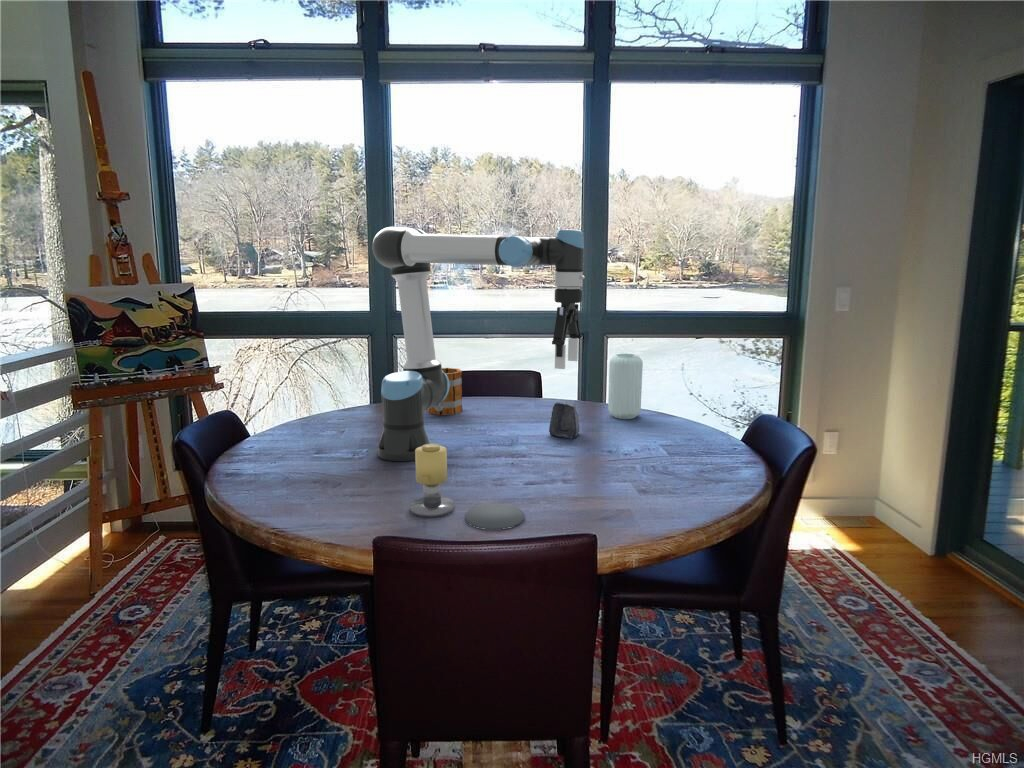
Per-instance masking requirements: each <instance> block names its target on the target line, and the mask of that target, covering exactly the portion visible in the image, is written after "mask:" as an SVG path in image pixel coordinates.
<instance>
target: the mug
mask: <svg viewBox="0 0 1024 768" xmlns="http://www.w3.org/2000/svg"><path fill="white" fill-rule="evenodd" d="M442 370H443V372H444V373H445V374H446V375H447V377H448V379H449V384H450V387H449V392H448V395H447V396H446V398H445V399H444V400H443V401H442V402H441V403H440V404H438V405H437V406H435V407H432V408H429V409H427V410H426V411H427V413H428V414H431V415H439V416H448V415H449V416H450V415H456V414H459V413H461V411H462V412H463V409H464V408H463V386H462V385H463V384H462V383H463V381H462V378H463V377H462V375H463V370H461V369H460V368H453V367H442Z"/></svg>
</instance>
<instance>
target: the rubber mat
mask: <svg viewBox="0 0 1024 768" xmlns="http://www.w3.org/2000/svg"><path fill="white" fill-rule="evenodd" d="M464 520H465V522H466V521H467V522H468V523H469V524H471V525H472V527H473V526H475V527H474V528H476V527H479V528H485V529H503V528H508V527H512V528H514V527H513V526H515V525H517V526H519V525H521V524H522V523H523V522H524V520H525V512H524V511H523V510H522V508H519V507H518V506H515V505H512V504H508V503H499V502H497V503H494V502H493V503H492V502H491V503H482V504H478V505H476V506H472V507H471V508H468V510H467V511H466V512H465V514H464ZM522 521H523V522H522ZM467 522H466V523H467ZM521 522H522V523H521ZM468 523H467V524H468ZM520 523H521V524H520ZM469 524H468V525H469ZM518 524H519V525H518ZM471 525H470V526H471ZM515 527H516V526H515ZM479 528H478V529H479ZM485 529H484V530H485ZM503 530H504V529H503Z"/></svg>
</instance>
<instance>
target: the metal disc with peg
mask: <svg viewBox="0 0 1024 768" xmlns="http://www.w3.org/2000/svg"><path fill="white" fill-rule="evenodd" d="M441 484H442V483H441ZM441 484H435V485H425V484H422V496H423V497H420V498H418V499H415V500H413V501H412V502H411V503H410V504H409V511H410V514H412V515H413V516H414V517H417V518H421V517H422V518H421V519H437V518H438V517H439V518H443V517H446V516H445V515H447V516H449V515H451V514H453V512H454V511H455V502H454V500H453V499H451V498H448V497H445V496H442V488H441V487H442V485H441ZM450 513H451V514H450ZM448 514H449V515H448ZM442 516H443V517H442Z"/></svg>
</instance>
